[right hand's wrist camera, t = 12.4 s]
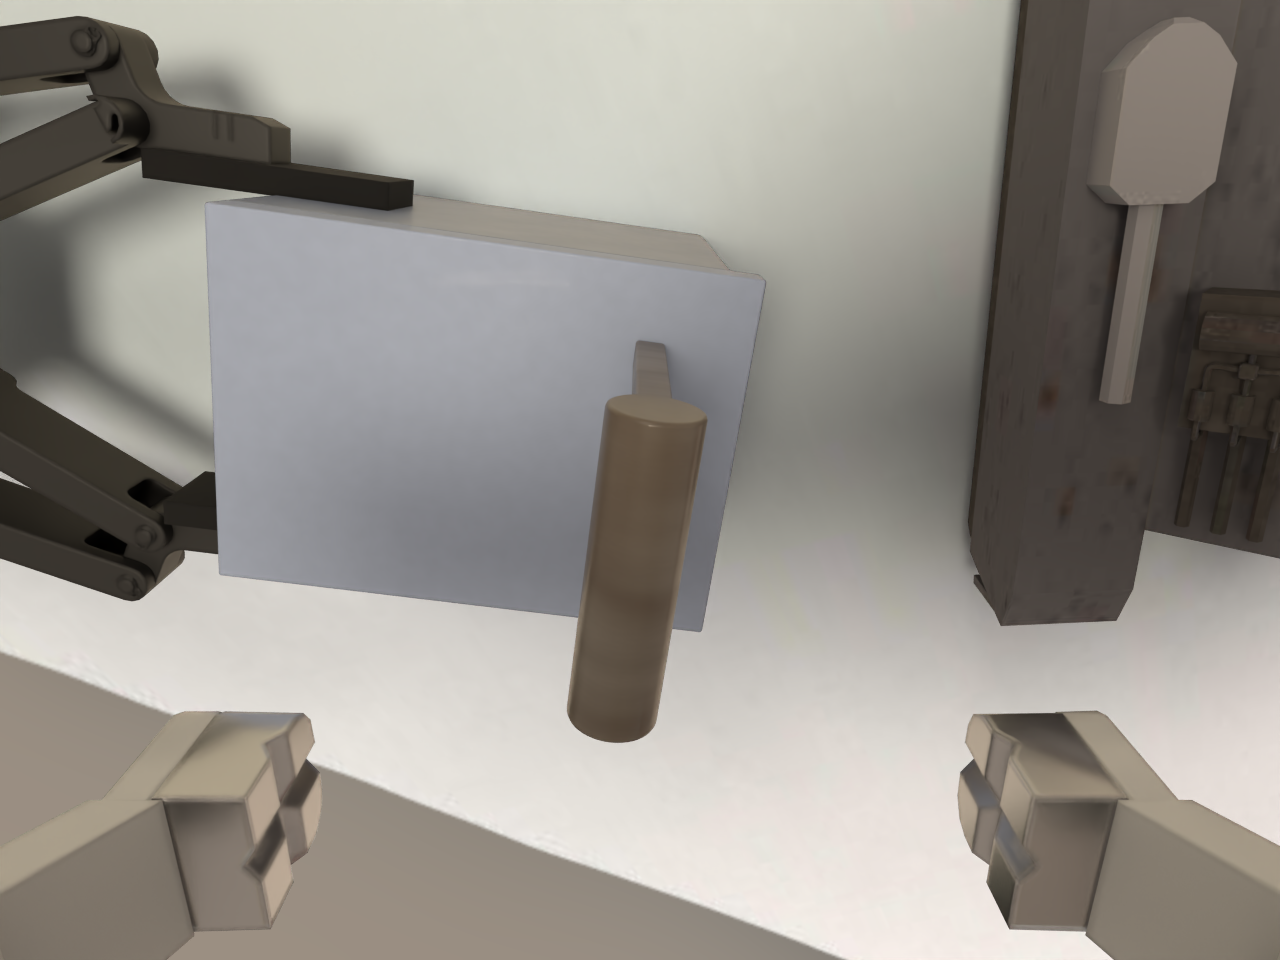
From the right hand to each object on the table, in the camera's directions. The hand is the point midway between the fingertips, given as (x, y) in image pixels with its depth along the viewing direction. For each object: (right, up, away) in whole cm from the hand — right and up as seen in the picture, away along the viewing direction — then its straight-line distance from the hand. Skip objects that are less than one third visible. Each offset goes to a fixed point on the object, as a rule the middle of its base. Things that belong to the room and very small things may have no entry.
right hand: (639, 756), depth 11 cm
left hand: (-7, +7, +15) cm, 18 cm away
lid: (-4, +5, +12) cm, 13 cm away
